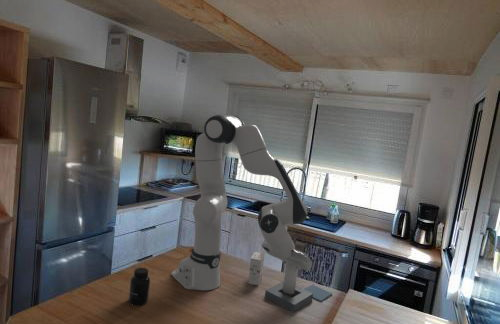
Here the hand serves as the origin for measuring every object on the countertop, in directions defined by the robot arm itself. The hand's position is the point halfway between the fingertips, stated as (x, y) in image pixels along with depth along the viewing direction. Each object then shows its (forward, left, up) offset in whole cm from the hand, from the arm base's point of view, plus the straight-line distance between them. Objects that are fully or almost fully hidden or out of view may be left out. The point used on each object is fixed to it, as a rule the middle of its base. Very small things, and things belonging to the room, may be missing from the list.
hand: (293, 265), depth 139 cm
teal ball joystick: (0, -1, -11) cm, 11 cm away
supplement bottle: (-34, -49, -14) cm, 61 cm away
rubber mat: (+5, +13, -14) cm, 20 cm away
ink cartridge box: (-19, 0, -14) cm, 24 cm away
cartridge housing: (0, -1, -14) cm, 14 cm away
